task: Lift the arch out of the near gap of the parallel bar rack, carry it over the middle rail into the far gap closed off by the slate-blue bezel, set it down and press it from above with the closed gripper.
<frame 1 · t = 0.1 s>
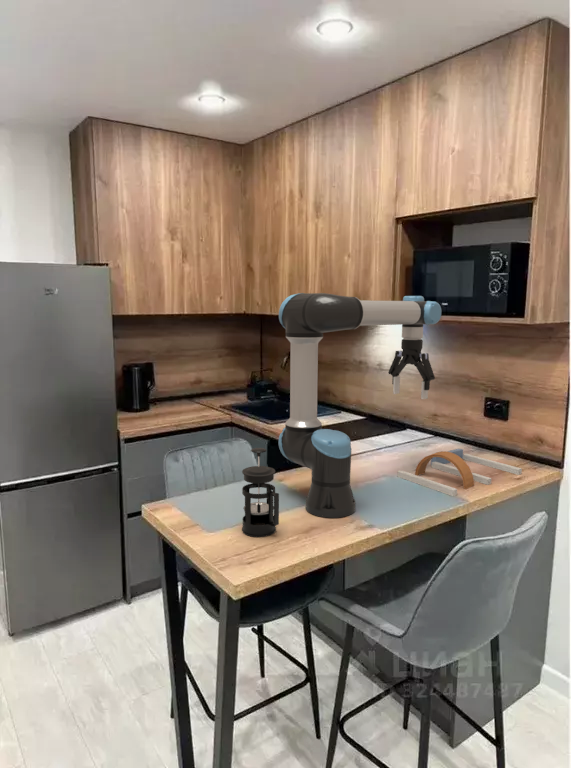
hand: (409, 396, 196), 28 cm above the countertop, tool pointing down, fingers open, 13 cm apart
arch: (443, 481, 187), on the countertop
french press: (260, 531, 145), on the countertop
parallel bar rack: (460, 475, 193), on the countertop
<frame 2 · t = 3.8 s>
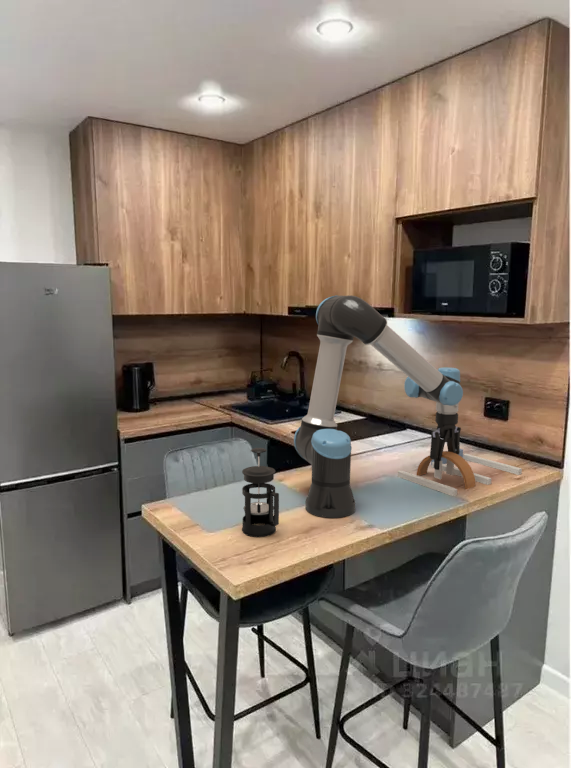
hand: (443, 476, 187), 1 cm above the countertop, tool pointing down, fingers closed on arch, 6 cm apart
arch: (445, 481, 187), on the countertop, touching gripper
everything else where it was.
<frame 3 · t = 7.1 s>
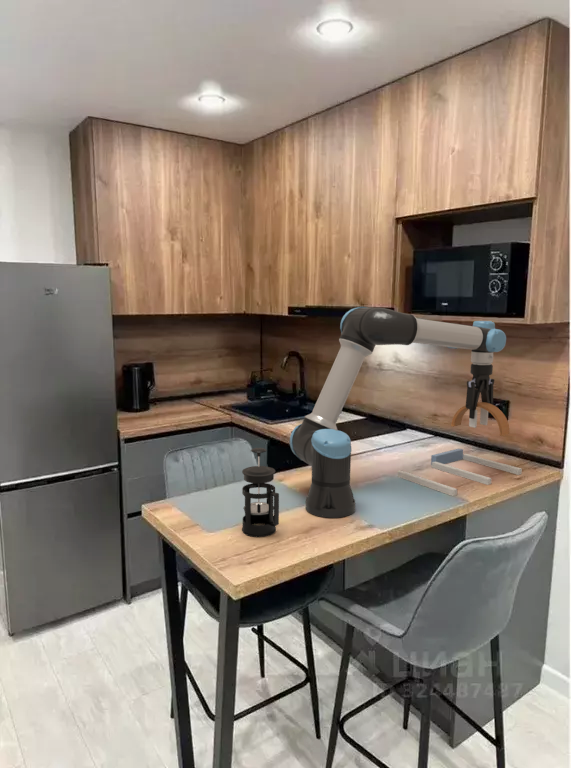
hand: (478, 425, 195), 17 cm above the countertop, tool pointing down, fingers closed on arch, 6 cm apart
arch: (479, 430, 195), point 16 cm above the countertop, touching gripper
everything else where it was.
when the fingers open (2 cm above the countertop, at t = 10.6 s): arch drops 1 cm, on the countertop.
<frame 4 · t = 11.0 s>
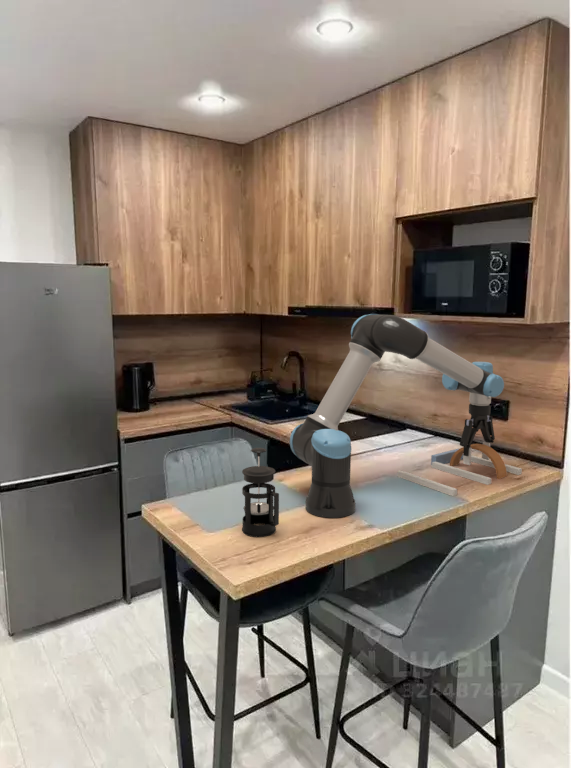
hand: (476, 461, 198), 3 cm above the countertop, tool pointing down, fingers open, 11 cm apart
arch: (477, 471, 198), on the countertop
everything else where it was.
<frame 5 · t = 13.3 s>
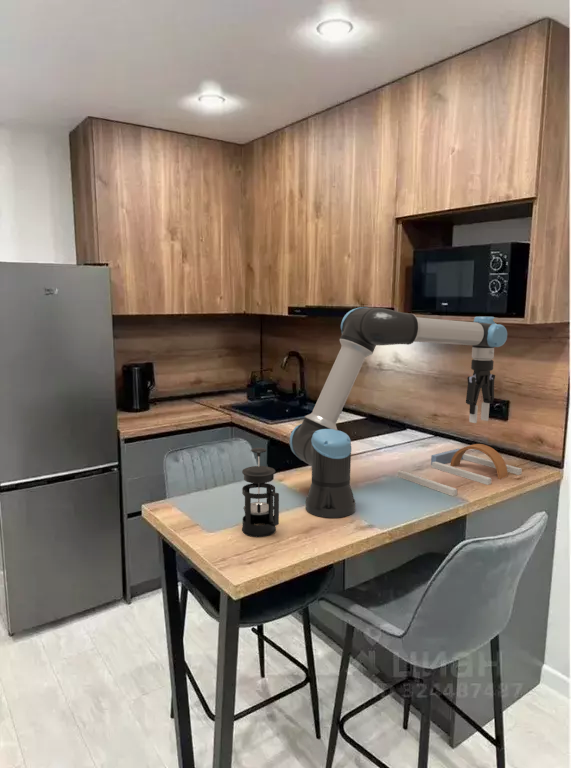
hand: (478, 421, 195), 19 cm above the countertop, tool pointing down, fingers open, 6 cm apart
nothing on the countertop moved.
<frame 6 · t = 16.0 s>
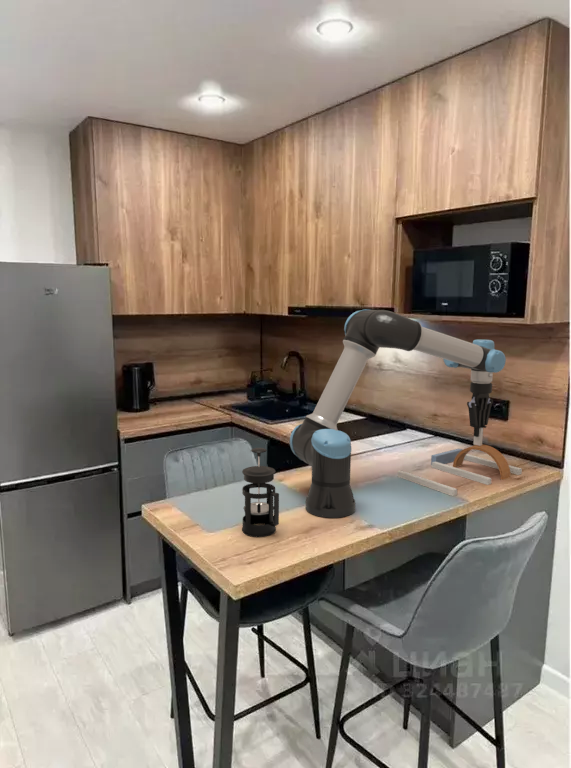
hand: (477, 444, 197), 10 cm above the countertop, tool pointing down, fingers closed
arch: (480, 472, 197), on the countertop
everything else where it was.
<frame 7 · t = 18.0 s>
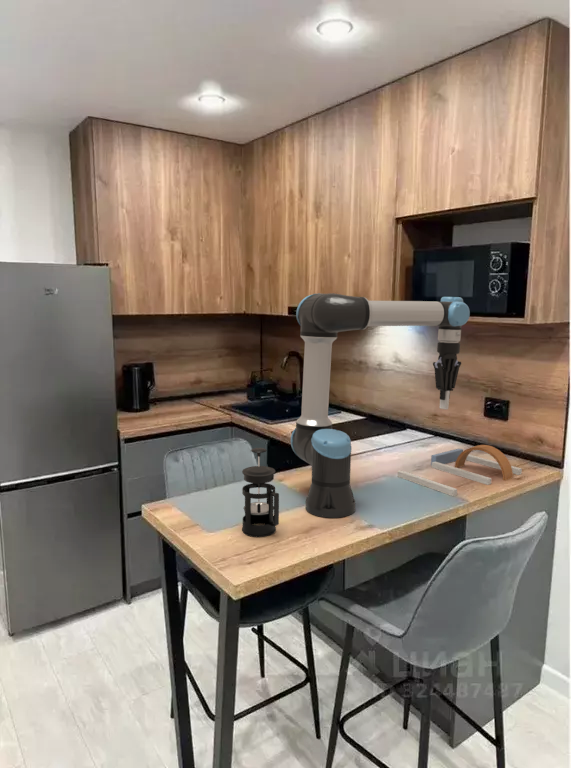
hand: (443, 408, 187), 25 cm above the countertop, tool pointing down, fingers closed
nothing on the countertop moved.
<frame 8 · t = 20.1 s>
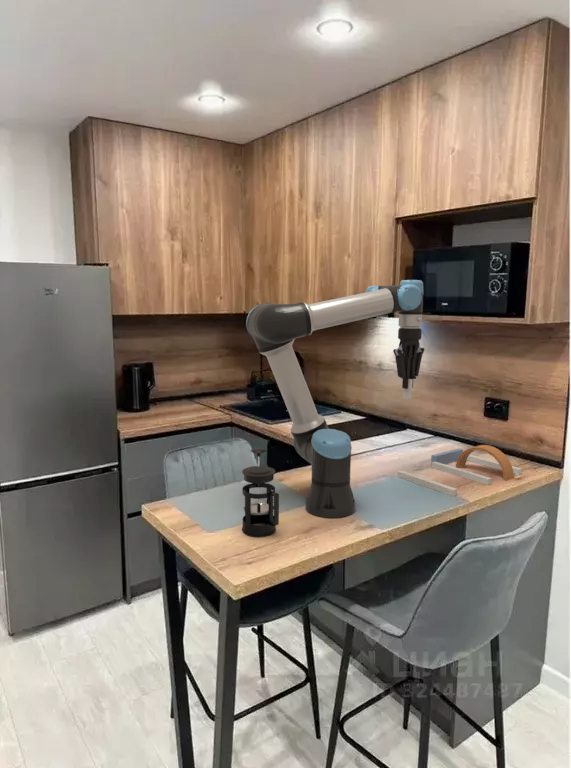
hand: (407, 397, 178), 30 cm above the countertop, tool pointing down, fingers closed
at the end: arch inside the target area (3.0 cm from its centre), on the countertop; arch tilted 0°; the gripper is holding nothing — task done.
